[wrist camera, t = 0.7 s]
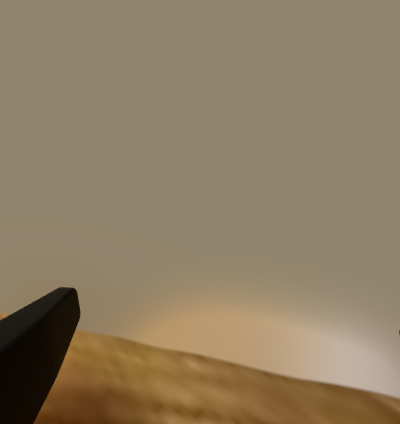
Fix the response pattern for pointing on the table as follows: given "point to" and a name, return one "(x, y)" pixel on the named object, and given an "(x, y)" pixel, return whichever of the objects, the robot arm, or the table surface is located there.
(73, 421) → the table surface
